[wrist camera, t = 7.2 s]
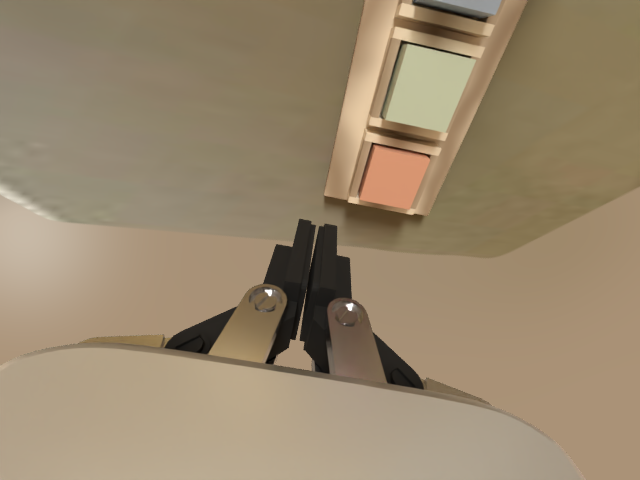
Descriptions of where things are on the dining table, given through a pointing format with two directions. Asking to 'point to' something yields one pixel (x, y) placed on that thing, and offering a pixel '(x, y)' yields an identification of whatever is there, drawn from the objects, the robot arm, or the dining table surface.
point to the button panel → (374, 79)
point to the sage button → (426, 87)
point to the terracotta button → (392, 175)
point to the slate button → (465, 6)
